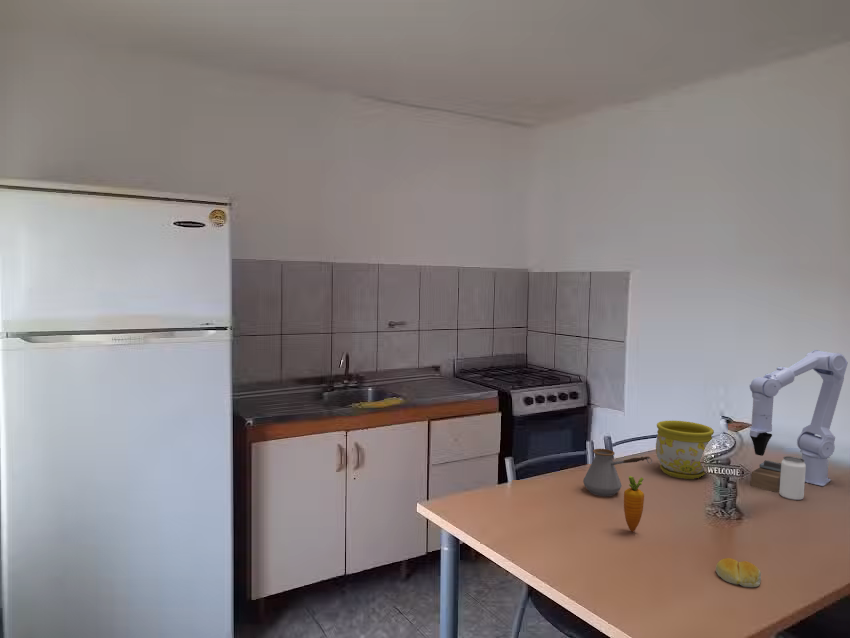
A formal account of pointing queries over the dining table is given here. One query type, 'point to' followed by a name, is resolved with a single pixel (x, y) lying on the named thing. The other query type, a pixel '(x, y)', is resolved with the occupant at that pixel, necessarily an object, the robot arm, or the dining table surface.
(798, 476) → the can
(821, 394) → the robot arm
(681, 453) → the flowerpot
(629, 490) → the carrot
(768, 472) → the brown rectangular box
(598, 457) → the coffee pot
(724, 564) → the bread roll
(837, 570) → the dining table surface
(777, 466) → the cover
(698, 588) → the dining table surface
